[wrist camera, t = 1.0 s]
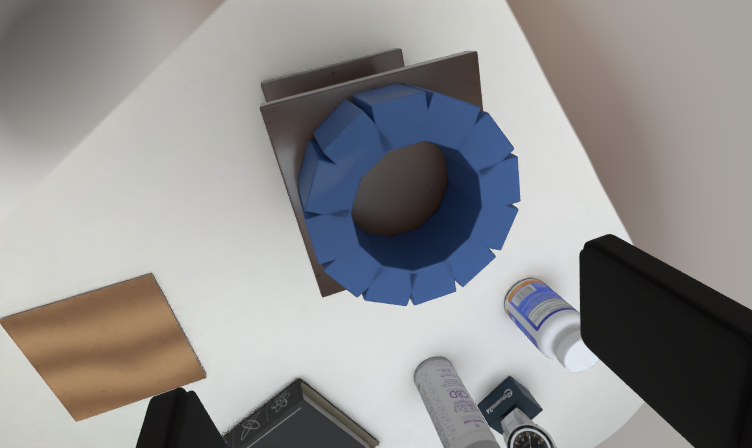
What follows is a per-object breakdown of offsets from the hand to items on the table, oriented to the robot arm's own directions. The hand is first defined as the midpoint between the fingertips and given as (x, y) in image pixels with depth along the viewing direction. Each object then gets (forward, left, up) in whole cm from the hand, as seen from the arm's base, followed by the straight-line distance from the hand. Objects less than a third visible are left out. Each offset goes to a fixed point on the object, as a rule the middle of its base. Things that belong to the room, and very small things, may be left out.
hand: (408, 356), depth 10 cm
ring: (+1, +3, -13) cm, 14 cm away
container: (+30, +6, -27) cm, 41 cm away
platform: (+1, +3, -27) cm, 27 cm away
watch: (+38, +14, -27) cm, 49 cm away
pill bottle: (+24, +18, -27) cm, 41 cm away
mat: (+14, -22, -27) cm, 37 cm away
